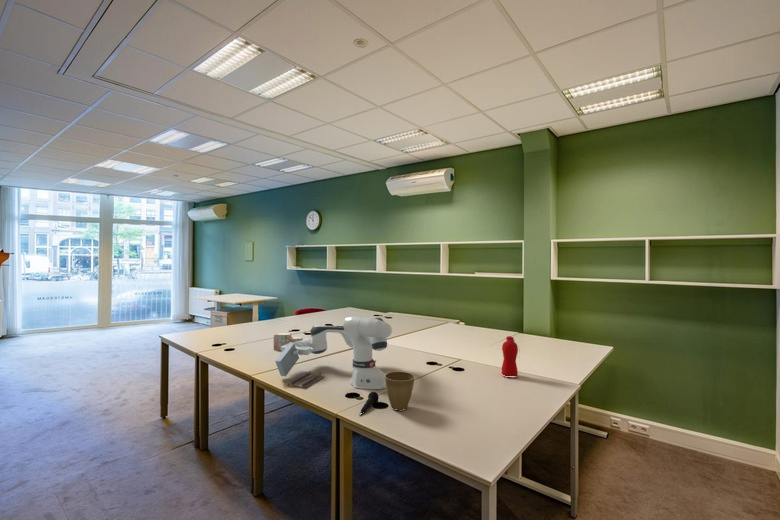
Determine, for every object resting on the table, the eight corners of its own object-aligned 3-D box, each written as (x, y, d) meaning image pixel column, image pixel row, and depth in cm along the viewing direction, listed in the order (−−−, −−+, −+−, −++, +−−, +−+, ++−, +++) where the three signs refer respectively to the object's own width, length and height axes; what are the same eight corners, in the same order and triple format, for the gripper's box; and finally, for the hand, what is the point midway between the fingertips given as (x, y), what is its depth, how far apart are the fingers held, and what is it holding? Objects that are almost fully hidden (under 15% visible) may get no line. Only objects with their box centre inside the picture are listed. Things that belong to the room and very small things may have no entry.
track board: (323, 377, 224) (323, 373, 224) (305, 388, 205) (305, 384, 205) (306, 375, 228) (306, 371, 228) (287, 385, 209) (287, 381, 209)
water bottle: (521, 379, 225) (521, 338, 224) (502, 378, 227) (503, 337, 226) (518, 374, 234) (519, 335, 233) (501, 373, 236) (501, 334, 235)
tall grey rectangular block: (299, 358, 233) (294, 343, 228) (285, 376, 220) (280, 361, 214) (294, 357, 234) (289, 342, 229) (280, 375, 221) (275, 360, 216)
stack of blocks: (302, 348, 292) (302, 333, 292) (300, 350, 286) (300, 334, 285) (275, 348, 292) (275, 332, 291) (273, 350, 285) (273, 334, 285)
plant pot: (418, 412, 177) (419, 379, 176) (389, 415, 172) (389, 382, 172) (408, 400, 191) (408, 369, 190) (380, 403, 187) (381, 372, 186)
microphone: (363, 422, 172) (378, 401, 190) (366, 412, 170) (381, 392, 189) (353, 417, 173) (369, 397, 192) (356, 407, 172) (372, 387, 191)
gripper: (315, 354, 235) (303, 359, 222) (288, 351, 242) (275, 356, 229) (315, 344, 235) (303, 349, 222) (288, 341, 242) (275, 346, 229)
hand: (289, 352), depth 226 cm, fingers closed on tall grey rectangular block, 3 cm apart
